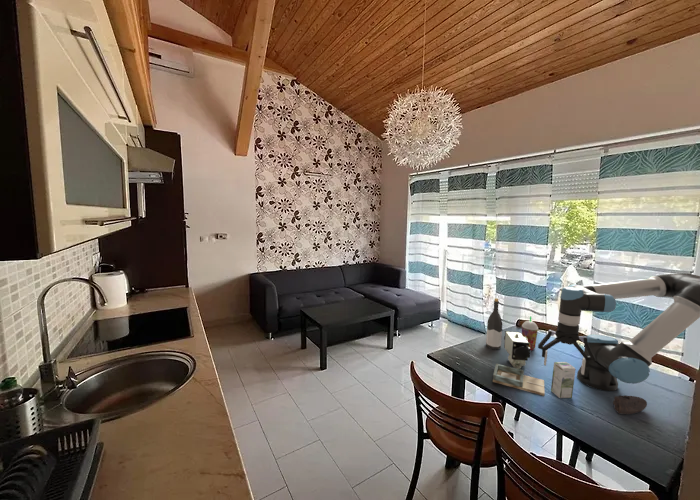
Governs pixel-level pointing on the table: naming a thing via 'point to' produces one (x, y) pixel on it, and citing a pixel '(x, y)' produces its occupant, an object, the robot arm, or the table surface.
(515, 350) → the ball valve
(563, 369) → the syrup box
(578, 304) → the robot arm
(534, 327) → the smoothie
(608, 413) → the table surface
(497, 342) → the wine bottle
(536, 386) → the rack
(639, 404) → the perforated stone tool
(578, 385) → the table surface
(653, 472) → the table surface
